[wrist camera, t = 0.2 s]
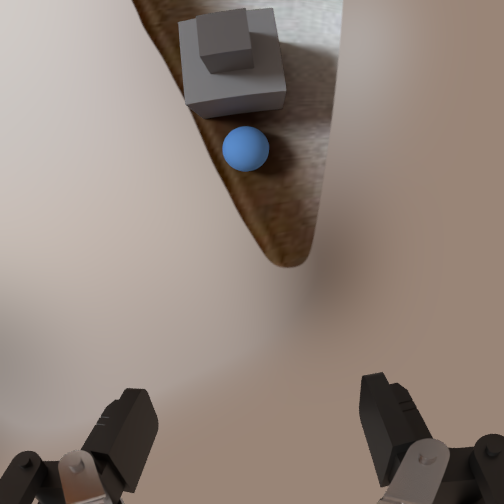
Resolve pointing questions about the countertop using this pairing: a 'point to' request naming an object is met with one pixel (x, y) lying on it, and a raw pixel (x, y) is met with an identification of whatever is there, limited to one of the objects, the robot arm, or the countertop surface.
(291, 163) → the countertop surface
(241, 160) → the ball
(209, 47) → the stepped gray cube pair
